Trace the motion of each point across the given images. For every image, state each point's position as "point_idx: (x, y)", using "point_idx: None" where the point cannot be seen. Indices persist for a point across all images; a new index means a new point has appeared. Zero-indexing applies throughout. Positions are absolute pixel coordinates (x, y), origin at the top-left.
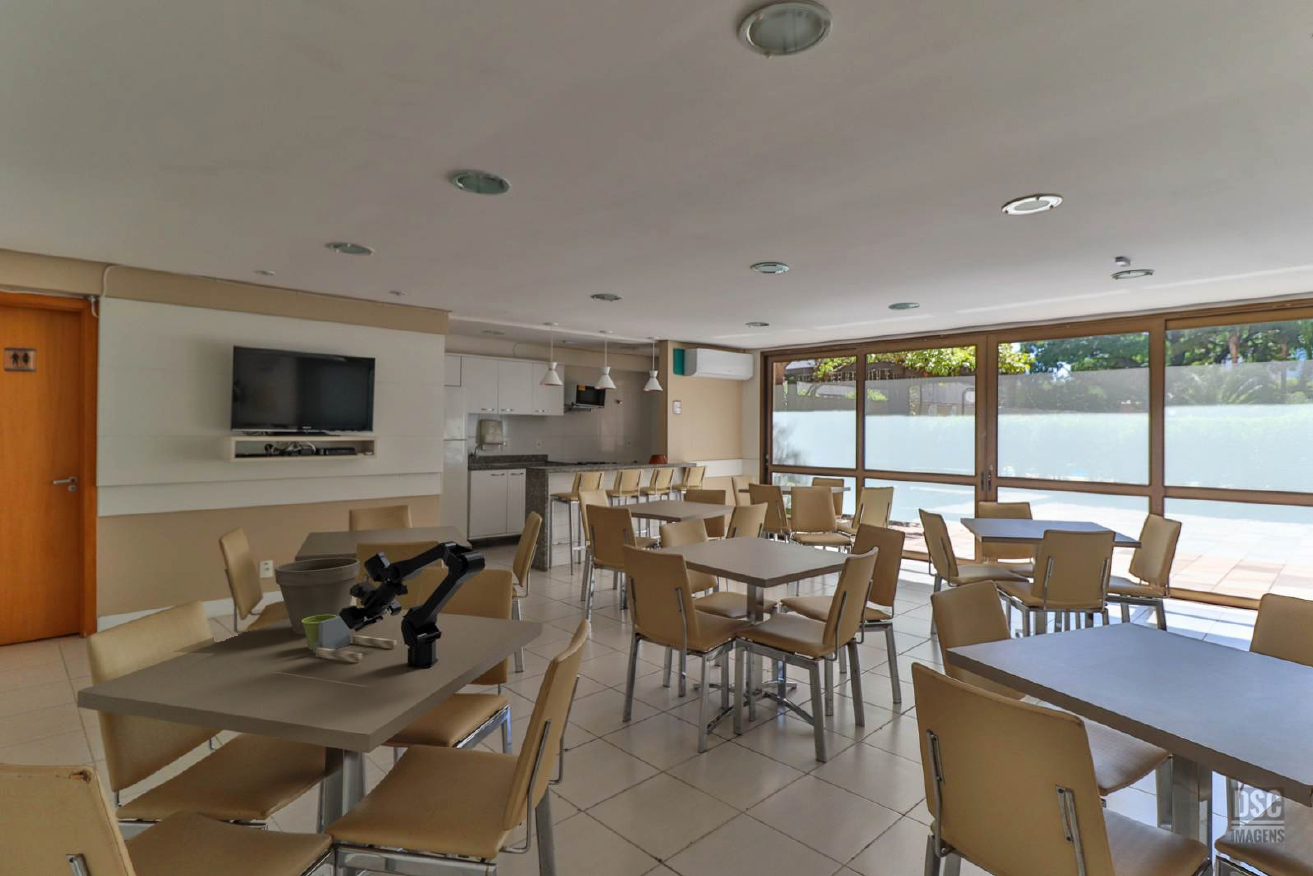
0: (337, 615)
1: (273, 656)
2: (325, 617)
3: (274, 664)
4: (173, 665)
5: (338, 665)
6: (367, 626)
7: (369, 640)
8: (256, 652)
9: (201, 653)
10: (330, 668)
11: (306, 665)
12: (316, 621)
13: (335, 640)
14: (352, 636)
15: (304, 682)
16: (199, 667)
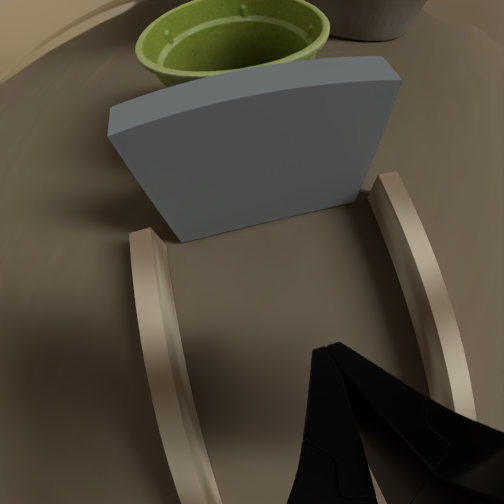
0: (385, 5)
1: (103, 123)
2: (293, 10)
3: (45, 207)
4: (25, 76)
5: (137, 459)
6: (377, 483)
7: (421, 298)
8: (120, 68)
9: (88, 34)
10: (99, 458)
11: (69, 324)
12: (256, 16)
13: (258, 198)
14: (378, 175)
15: (6, 475)
16: (15, 109)
